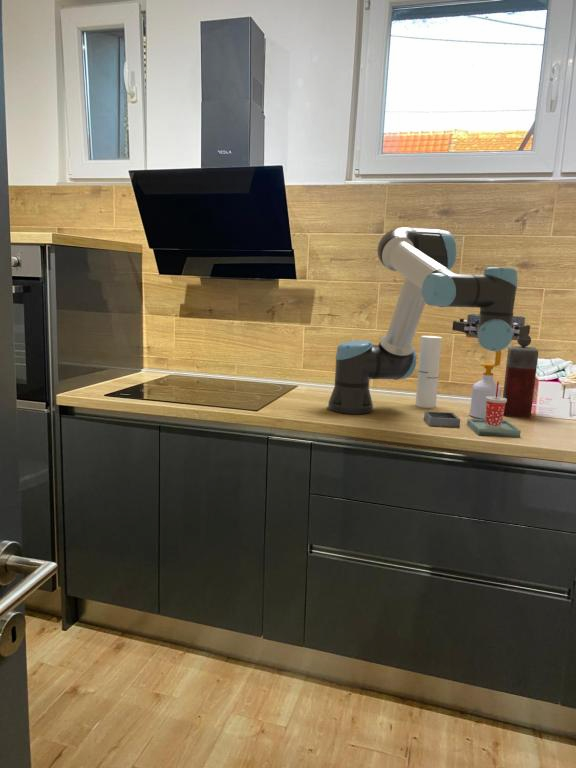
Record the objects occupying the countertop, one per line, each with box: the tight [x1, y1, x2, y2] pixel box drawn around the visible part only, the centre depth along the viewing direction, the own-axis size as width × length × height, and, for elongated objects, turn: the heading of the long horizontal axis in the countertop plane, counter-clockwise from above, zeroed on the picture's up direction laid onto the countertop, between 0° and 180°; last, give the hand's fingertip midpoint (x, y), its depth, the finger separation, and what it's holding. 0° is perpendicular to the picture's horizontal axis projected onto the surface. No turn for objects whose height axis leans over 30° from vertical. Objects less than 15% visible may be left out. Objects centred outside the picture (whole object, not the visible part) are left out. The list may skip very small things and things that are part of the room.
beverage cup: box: [485, 381, 507, 429], centre depth 172 cm, size 6×6×14 cm
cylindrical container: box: [415, 335, 443, 409], centre depth 203 cm, size 7×7×25 cm
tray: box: [466, 418, 521, 438], centre depth 173 cm, size 12×12×2 cm
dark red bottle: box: [502, 334, 539, 419], centre depth 196 cm, size 9×11×28 cm
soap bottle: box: [469, 350, 502, 419], centre depth 190 cm, size 9×9×25 cm
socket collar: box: [423, 410, 461, 428], centre depth 180 cm, size 9×9×2 cm
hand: (489, 325), depth 165 cm, fingers open, 13 cm apart
